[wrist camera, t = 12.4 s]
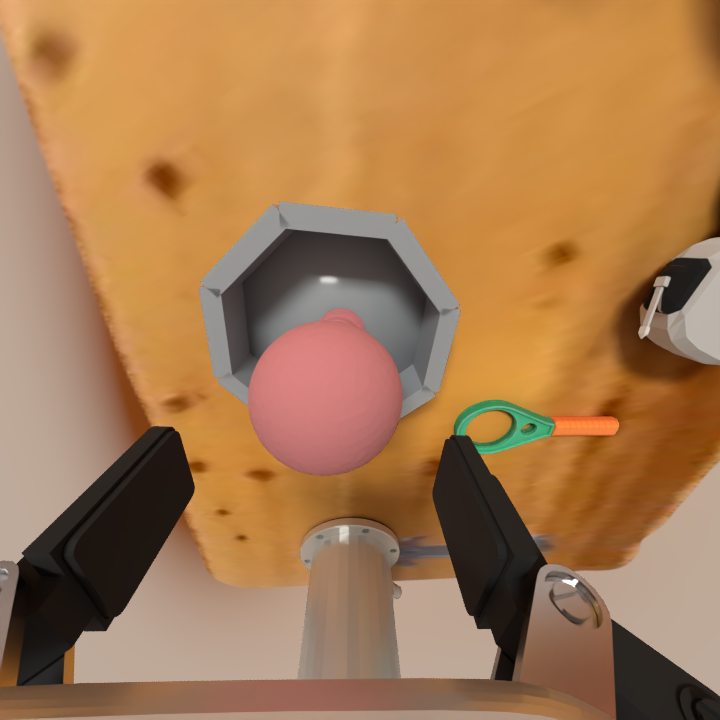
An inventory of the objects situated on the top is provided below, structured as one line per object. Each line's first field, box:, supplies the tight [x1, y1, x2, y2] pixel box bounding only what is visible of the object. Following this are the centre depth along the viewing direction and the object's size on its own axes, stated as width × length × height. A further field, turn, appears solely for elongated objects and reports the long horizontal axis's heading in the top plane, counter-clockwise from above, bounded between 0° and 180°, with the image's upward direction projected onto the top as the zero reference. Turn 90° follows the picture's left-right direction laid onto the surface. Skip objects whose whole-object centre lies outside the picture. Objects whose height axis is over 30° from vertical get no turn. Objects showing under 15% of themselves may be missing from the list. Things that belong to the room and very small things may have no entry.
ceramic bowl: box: [198, 202, 461, 419], centre depth 19 cm, size 15×15×4 cm
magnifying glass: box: [454, 400, 619, 454], centre depth 26 cm, size 15×6×2 cm, turn 91°
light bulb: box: [248, 308, 403, 476], centre depth 15 cm, size 7×7×12 cm
